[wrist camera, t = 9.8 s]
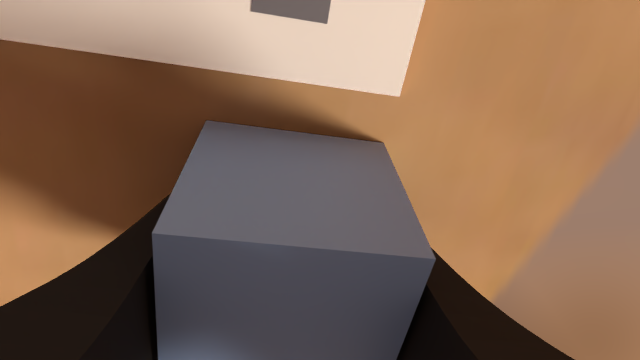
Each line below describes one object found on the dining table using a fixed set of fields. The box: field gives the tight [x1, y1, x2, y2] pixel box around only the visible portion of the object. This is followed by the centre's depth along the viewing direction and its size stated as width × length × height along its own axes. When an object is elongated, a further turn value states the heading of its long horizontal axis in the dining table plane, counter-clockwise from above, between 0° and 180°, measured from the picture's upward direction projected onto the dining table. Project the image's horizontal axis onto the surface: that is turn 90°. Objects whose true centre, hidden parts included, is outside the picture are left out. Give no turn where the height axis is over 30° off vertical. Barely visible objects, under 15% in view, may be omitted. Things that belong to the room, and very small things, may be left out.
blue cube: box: [152, 120, 436, 360], centre depth 11 cm, size 5×5×5 cm
